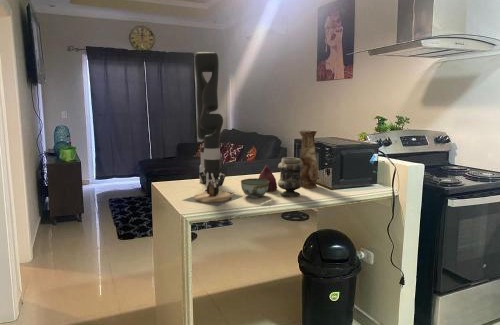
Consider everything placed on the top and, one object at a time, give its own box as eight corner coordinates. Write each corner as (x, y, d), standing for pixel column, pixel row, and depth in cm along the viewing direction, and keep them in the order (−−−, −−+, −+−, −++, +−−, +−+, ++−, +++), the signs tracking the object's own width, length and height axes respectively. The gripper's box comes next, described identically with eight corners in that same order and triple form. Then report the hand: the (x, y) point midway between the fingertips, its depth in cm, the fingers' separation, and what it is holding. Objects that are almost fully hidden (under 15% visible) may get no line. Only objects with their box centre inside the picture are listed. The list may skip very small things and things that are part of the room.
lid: (186, 199, 175) (186, 186, 174) (209, 192, 190) (209, 179, 189) (216, 204, 166) (216, 190, 165) (238, 196, 181) (238, 183, 180)
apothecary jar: (303, 192, 190) (304, 156, 188) (301, 198, 179) (301, 160, 176) (279, 191, 193) (279, 156, 190) (275, 197, 182) (275, 159, 179)
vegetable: (274, 198, 192) (277, 171, 186) (254, 194, 194) (256, 168, 188) (278, 188, 202) (281, 163, 195) (258, 185, 203) (261, 159, 197)
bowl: (234, 198, 180) (234, 181, 178) (251, 192, 191) (251, 177, 189) (259, 202, 172) (259, 185, 171) (274, 196, 183) (274, 180, 182)
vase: (318, 188, 199) (319, 130, 194) (297, 188, 200) (298, 130, 195) (317, 184, 209) (318, 129, 204) (297, 184, 210) (298, 129, 205)
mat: (182, 201, 175) (182, 200, 175) (208, 192, 192) (208, 191, 192) (217, 207, 164) (217, 206, 164) (242, 197, 181) (242, 196, 181)
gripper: (194, 157, 175) (195, 194, 178) (219, 160, 168) (220, 198, 171) (204, 155, 182) (205, 191, 185) (229, 157, 174) (229, 194, 177)
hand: (212, 194), depth 178 cm, fingers closed on lid, 3 cm apart
